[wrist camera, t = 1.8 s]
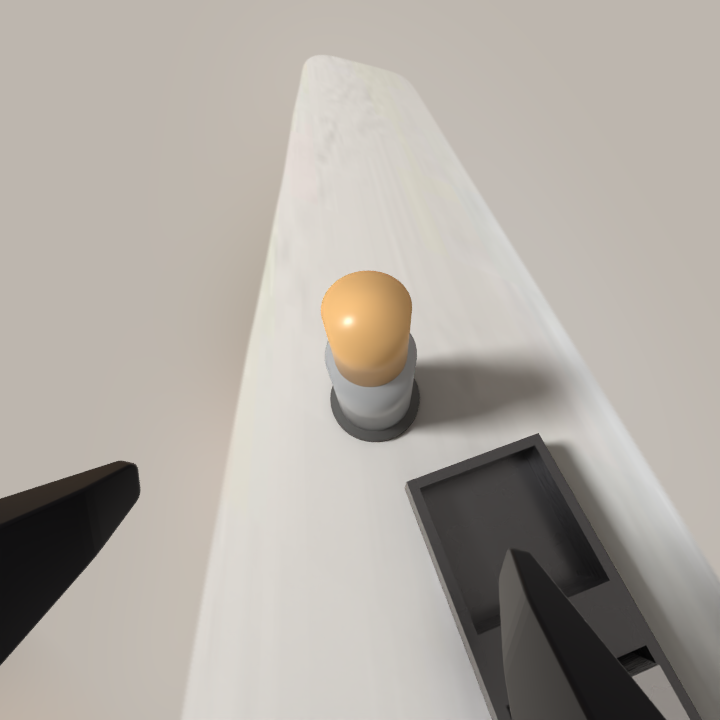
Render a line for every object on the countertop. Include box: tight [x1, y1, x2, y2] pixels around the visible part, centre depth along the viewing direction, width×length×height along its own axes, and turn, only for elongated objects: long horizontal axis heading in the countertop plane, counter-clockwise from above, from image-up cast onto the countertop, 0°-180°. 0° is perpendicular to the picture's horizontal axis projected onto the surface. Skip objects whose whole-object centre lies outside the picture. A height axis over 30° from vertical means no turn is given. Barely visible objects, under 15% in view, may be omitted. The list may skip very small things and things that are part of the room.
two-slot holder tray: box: [405, 433, 702, 720], centre depth 17 cm, size 8×16×4 cm, turn 19°
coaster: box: [331, 379, 419, 442], centre depth 24 cm, size 6×6×1 cm
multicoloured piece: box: [321, 271, 417, 431], centre depth 20 cm, size 4×4×10 cm
